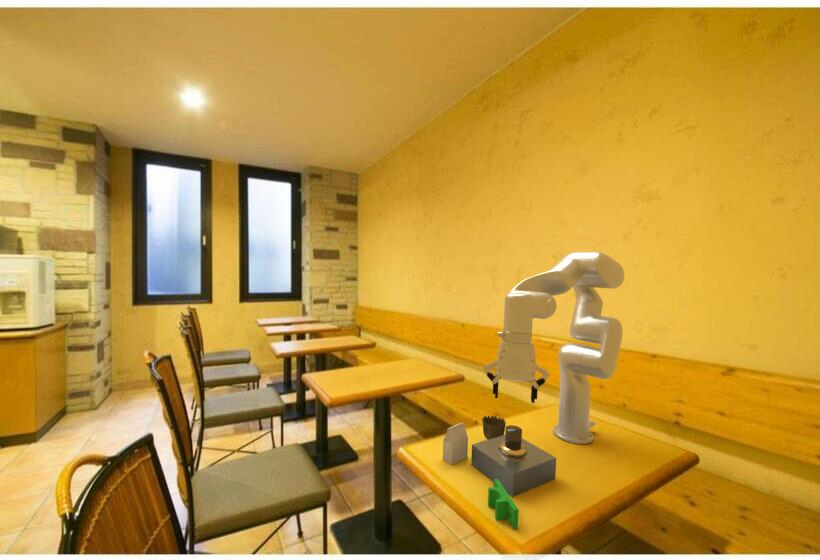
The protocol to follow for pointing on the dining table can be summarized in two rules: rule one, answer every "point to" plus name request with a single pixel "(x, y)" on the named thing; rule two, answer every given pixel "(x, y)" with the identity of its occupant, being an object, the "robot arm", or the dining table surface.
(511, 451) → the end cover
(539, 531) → the dining table surface
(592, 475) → the dining table surface
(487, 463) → the plate
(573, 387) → the robot arm
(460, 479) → the dining table surface
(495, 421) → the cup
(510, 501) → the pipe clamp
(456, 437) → the tan milk carton
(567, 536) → the dining table surface
